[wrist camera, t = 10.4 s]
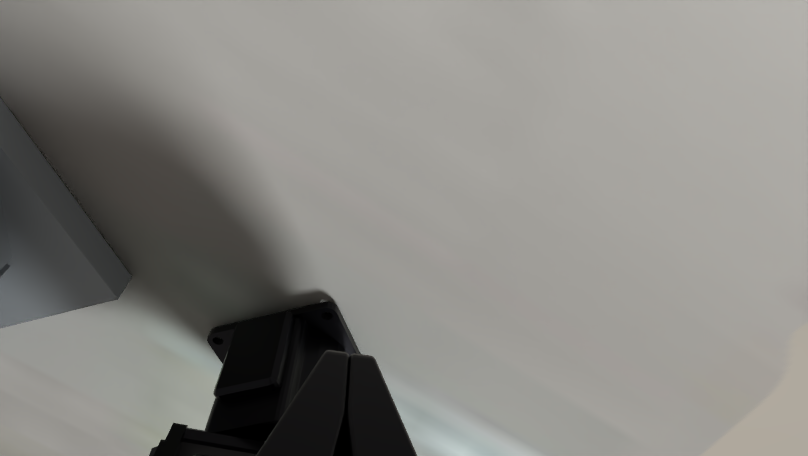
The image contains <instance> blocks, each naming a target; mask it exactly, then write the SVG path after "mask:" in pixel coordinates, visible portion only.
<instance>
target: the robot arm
mask: <svg viewBox="0 0 808 456" xmlns="http://www.w3.org/2000/svg"><path fill="white" fill-rule="evenodd" d="M324 312H330V313H331V314H326V313H324ZM217 337H220V338H222V339H220V338H217ZM207 341H208V343H209V345H210V346H211V348H212V349H213V350H214V352H215V353H216V355H217V356H218V358H219V359H220V361H221V362H222V363H223V366H222V369H221V372H220V375H219V378H218V381H217V384H216V386H215V389H214V395H215V397H216V398H215V401H214V404H213V407H212V410H211V413H210V416H209V419H208V422H207V425H206V428H205V431H203V430H197V429H192V428H187V426H188V425H183V424H177V423H173V425H172V427H171V429H170V431H169V433H168V435H167V437H166V439H165V440H162V439H161V441H160V443H159V445H158V446H157V447H154V448H152V450H151V452H150V455H149V456H417V454H416V452H415V450H414V447H413V445H412V443H411V440H410V438H409V436H408V433H407V431H406V429H405V427H404V424H403V422H402V420H401V417H400V415H399V413H398V410H397V408H396V406H395V404H394V401H393V399H392V397H391V394H390V392H389V390H388V387H387V385H386V383H385V381H384V378H383V376H382V374H381V371H380V369H379V367H378V364H377V362H376V360H375V358H374V357H372V356H369V355H362V354H360V352H359V350H358V348H357V346H356V344H355V342H354V340H353V338H352V336H351V333H350V331H349V329H348V327H347V325H346V323H345V321H344V319H343V317H342V315H341V313H340V311H339V309H338V307H337V306H336V305H335V304H333V303H331V302H323V303H319V304H314V305H310V306H306V307H302V308H297V309H293V310H289V311H284V312H280V313H276V314H271V315H267V316H263V317H259V318H254V319H250V320H246V321H241V322H237V323H233V324H228V325H224V326H220V327H216V328H213V329H212V330H211V331H210V333H209V335H208V338H207Z"/></svg>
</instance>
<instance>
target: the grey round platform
mask: <svg viewBox="0 0 808 456" xmlns="http://www.w3.org/2000/svg"><path fill="white" fill-rule="evenodd" d="M131 277H132V276H131V275H130V273H129V272H128V271H127V269H126V268H125V267H124V265H123V264H122V263H121V261H120V260H119V258H118V257H117V256H116V254H115V253H114V252H113V250H112V249H111V248H110V246H109V245H108V243H107V242H106V241H105V239H104V238H103V237H102V235H101V234H100V233H99V231H98V230H97V228H96V227H95V226H94V224H93V223H92V222H91V220H90V219H89V218H88V216H87V215H86V213H85V212H84V211H83V209H82V208H81V207H80V205H79V204H78V202H77V201H76V200H75V198H74V197H73V196H72V194H71V193H70V192H69V190H68V189H67V187H66V186H65V185H64V183H63V182H62V181H61V179H60V178H59V177H58V175H57V174H56V172H55V171H54V170H53V168H52V167H51V166H50V164H49V163H48V162H47V160H46V159H45V157H44V156H43V155H42V153H41V152H40V151H39V149H38V148H37V147H36V145H35V144H34V142H33V141H32V140H31V138H30V137H29V136H28V134H27V133H26V132H25V130H24V129H23V127H22V126H21V125H20V123H19V122H18V121H17V119H16V118H15V117H14V115H13V114H12V112H11V111H10V110H9V108H8V107H7V106H6V104H5V103H4V102H3V100H2V99H1V97H0V328H4V327H8V326H12V325H16V324H20V323H24V322H28V321H32V320H36V319H40V318H44V317H48V316H52V315H56V314H60V313H64V312H68V311H72V310H76V309H80V308H84V307H88V306H92V305H96V304H100V303H104V302H108V301H112V300H116V299H118V298H119V297H120V295H121V294H122V292H123V290H124V289H125V287H126V285H127V284H128V282H129V281H130V279H131Z"/></svg>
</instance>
